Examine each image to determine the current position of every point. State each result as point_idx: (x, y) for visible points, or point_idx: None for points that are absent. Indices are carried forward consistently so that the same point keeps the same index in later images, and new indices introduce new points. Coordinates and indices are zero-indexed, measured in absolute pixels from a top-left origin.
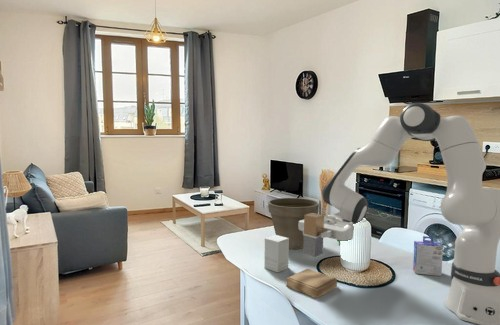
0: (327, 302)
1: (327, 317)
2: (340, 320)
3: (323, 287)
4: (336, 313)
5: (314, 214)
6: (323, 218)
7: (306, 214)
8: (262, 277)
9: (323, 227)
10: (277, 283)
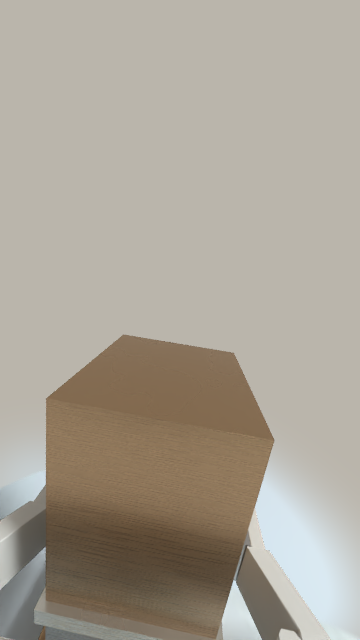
0: (29, 576)
1: (41, 481)
2: (6, 485)
3: (41, 634)
4: (9, 514)
5: (184, 383)
6: (56, 427)
7: (237, 364)
8: (330, 629)
9: (49, 537)
10: (249, 612)
